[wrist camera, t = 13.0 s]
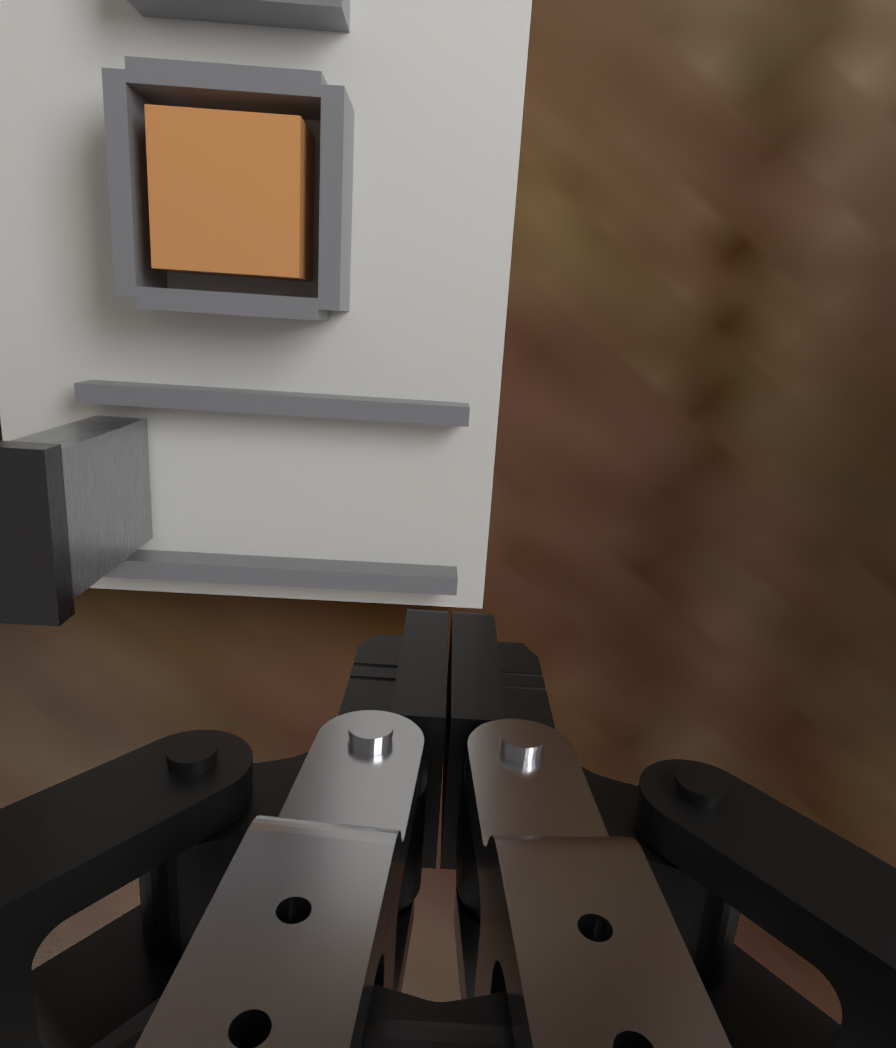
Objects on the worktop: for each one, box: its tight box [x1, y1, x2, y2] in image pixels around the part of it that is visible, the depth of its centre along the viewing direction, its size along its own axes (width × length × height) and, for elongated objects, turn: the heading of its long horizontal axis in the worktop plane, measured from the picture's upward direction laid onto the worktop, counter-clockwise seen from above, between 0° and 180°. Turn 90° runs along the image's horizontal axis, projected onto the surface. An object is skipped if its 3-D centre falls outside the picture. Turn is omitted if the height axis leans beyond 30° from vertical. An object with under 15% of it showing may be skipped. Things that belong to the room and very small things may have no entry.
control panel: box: [0, 0, 532, 608], centre depth 22 cm, size 16×25×6 cm, turn 176°
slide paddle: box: [0, 415, 153, 626], centre depth 21 cm, size 2×4×7 cm, turn 176°
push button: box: [144, 104, 315, 282], centre depth 21 cm, size 4×4×2 cm
